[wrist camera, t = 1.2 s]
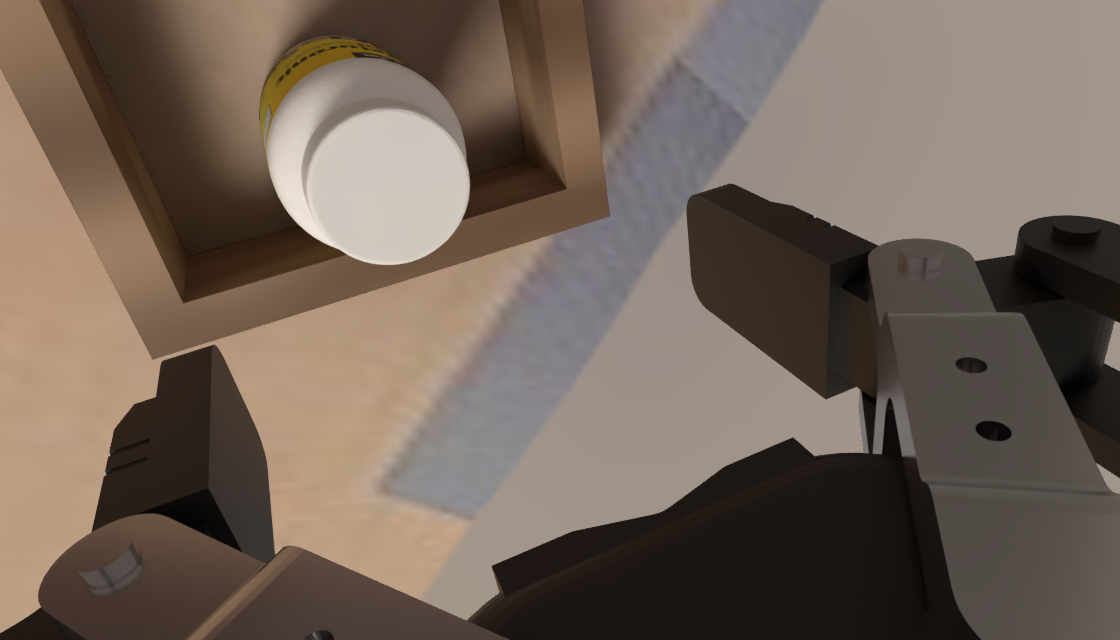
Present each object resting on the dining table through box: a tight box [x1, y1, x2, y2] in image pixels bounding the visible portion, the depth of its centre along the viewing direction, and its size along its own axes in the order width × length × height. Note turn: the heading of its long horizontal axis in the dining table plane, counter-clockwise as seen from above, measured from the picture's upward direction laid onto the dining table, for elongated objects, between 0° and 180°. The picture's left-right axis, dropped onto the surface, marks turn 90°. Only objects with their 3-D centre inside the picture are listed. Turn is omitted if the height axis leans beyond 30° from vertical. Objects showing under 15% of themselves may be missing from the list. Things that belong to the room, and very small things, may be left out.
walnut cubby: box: [0, 0, 610, 359], centre depth 24 cm, size 12×16×4 cm
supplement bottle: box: [259, 35, 470, 265], centre depth 22 cm, size 5×5×10 cm
